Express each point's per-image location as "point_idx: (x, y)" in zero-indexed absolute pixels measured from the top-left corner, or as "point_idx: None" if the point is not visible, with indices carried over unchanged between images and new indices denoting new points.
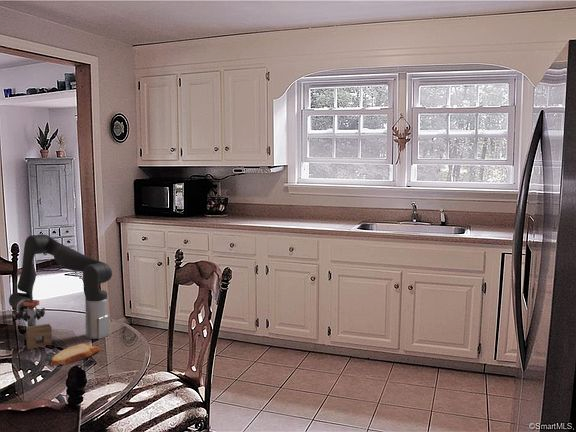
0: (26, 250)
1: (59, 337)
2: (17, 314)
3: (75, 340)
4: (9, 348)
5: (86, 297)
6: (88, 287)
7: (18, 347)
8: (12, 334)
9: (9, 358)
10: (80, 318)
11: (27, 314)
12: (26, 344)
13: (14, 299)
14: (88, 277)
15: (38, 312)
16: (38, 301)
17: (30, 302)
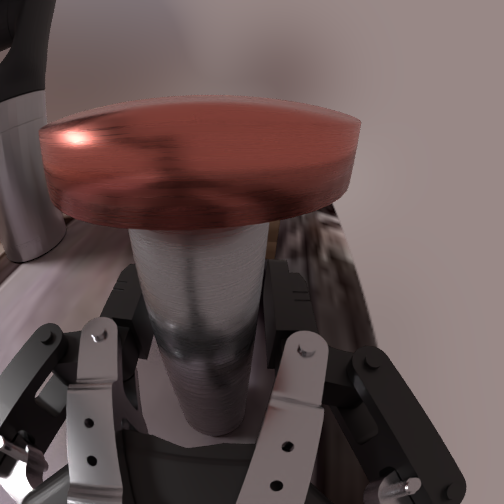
0: None
1: (115, 281)
2: (391, 363)
3: (99, 235)
4: (338, 264)
5: (39, 78)
6: (45, 38)
7: (305, 259)
8: (348, 454)
9: (324, 211)
10: None
11: (259, 302)
12: (275, 249)
13: None
14: (53, 3)
15: (100, 321)
16: (92, 109)
17: (224, 99)
